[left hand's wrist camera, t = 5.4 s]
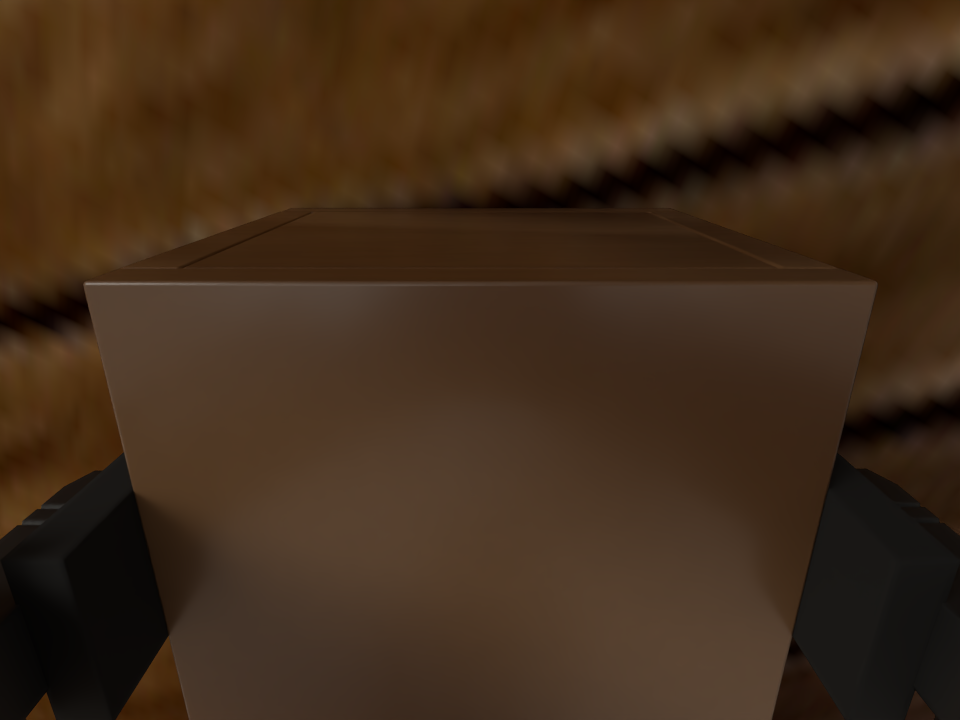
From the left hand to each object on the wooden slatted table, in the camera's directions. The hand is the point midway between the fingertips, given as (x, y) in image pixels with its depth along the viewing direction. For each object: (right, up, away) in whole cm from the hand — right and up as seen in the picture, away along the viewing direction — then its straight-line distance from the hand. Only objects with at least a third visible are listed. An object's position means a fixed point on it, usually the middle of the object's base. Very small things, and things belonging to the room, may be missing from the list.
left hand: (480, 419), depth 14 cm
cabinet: (0, -4, +5) cm, 7 cm away
